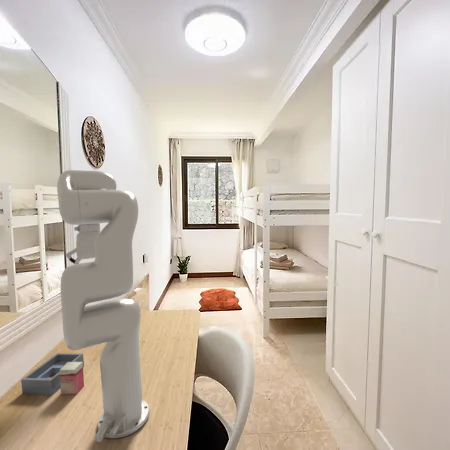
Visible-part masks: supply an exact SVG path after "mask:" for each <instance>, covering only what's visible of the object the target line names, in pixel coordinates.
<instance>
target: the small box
mask: <svg viewBox="0 0 450 450" xmlns="http://www.w3.org/2000/svg"><path fill="white" fill-rule="evenodd" d="M84 380H85V375H84V366H83V362H67V363H66V364H65V365H64V366H63V367H62V368H61V369H60V384H61V387H60V394H61V395H77V394H78V393H79V392H80V391H81V390H82V389H83V387H84V386H85V381H84Z"/></svg>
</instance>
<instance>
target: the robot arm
mask: <svg viewBox="0 0 450 450" xmlns="http://www.w3.org/2000/svg"><path fill="white" fill-rule="evenodd" d="M56 191H57V200H58V210H59V215H60V217H61V220H62V221H63V222H64V223H66V224H68V225H70V226H71V225H73V226H74V227H73V229H74V230H73V231H75V232H76V231H77V232H78V233H76V241H75V243H76V244H75V248H73V249H72V250H70V251H68V252H67V253H66V254H65V256H66V257H67V259H68V260H69V262H71V263H72V265H70V266H68V267H66V268H65V269H64V270H63V271H62V273H61V276H60V277H61V278H60V301H61V303H60V304H61V318H62V332H63V340H64V343H65V345H66V347H67V348H68V349H69V350H71V351H77V350H78V351H79V350H83V349H86V348H89V347H94V346H97V345H100V344H104V343H105V344H104V347H103V349H102V351H101V354H100V358H99V365H100V366H99V368H100V379H101V393H102V405H103V412H101V414H100V416H99V417H98V420H97V433H96V434H95V435H94V440H95V441H96V442H98V443H101V442H102V441H103V440H104V438H108V439H119V438H120V439H121V438H124V437H127V436H130V435H132V434H133V433H135V432H137V431H138V430H139V429H141V428H142V426H144V424H146V422H147V420H148V419H149V415H150V406H149V403H148V402H147V401H146V400H144V399H143V390H142V389H143V388H142V373H141V360H140V359H141V357H140V328H141V327H140V326H141V320H142V319H141V315H142V314H141V307H140V305H139V303H138V302H137V301H136V300H135V299H132V298H126V297H124V298H119V297H122V296H125V295H127V294H129V293H130V292H131V291H132V288H133V284H134V261H133V257H134V256H133V239H134V234H135V230H136V227H137V223H138V219H139V204H138V199H137V197H136V195H134V193H132V192H131V191H128V190H122V189H117V182H116V180H115V177H113V176H112V175H111V174H109V173H107V172H105V171H100V170H81V169H80V170H79V169H78V170H76V169H68V170H65V171H62V173H61V174H60V175H59V177H58V180H57V185H56ZM106 223H107V224H106ZM101 224H106V225H105V226H104V227H103V228H102V229H101ZM75 225H76V226H75ZM75 253H76V258H75V259H74V258H73V257H72V255H74V254H75ZM89 259H94V260H93V261H90V262H89V261H87V262H81V263H80V261H82V260H89ZM115 298H118V299H115ZM111 299H113V300H111ZM106 300H107V301H106ZM101 301H102V302H101ZM103 301H104V302H103ZM95 302H98V303H95ZM99 302H100V303H99ZM91 303H95V304H91ZM88 304H91V305H88Z"/></svg>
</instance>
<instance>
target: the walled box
mask: <svg viewBox="0 0 450 450" xmlns="http://www.w3.org/2000/svg"><path fill="white" fill-rule="evenodd" d="M84 359H85V358H84V353H74V352H73V353H70V352H69V353H67V352H64V353H63V352H60V353H59V352H57V353H56V354H54V355H52V356H51V357H50V358H48V360H46V361H44V363H42V364H41V365H39V366H38V367H37V368H35V369H34V370H31V372H29V373H28V374H27V375H25V376H24V377H23V378H22V379H20V382H21V391H22V394H23V395H41V396H42V395H44V396H46V395H47V396H53V395H54V394H55V393H56V392H57V391H58V390H59V389H61V384H60V369H61V368H62V367H63V366H64V365H65V364H66V363H67V362H83V367H85V360H84ZM53 374H55V375H53ZM51 375H52V377H50V376H51Z"/></svg>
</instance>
